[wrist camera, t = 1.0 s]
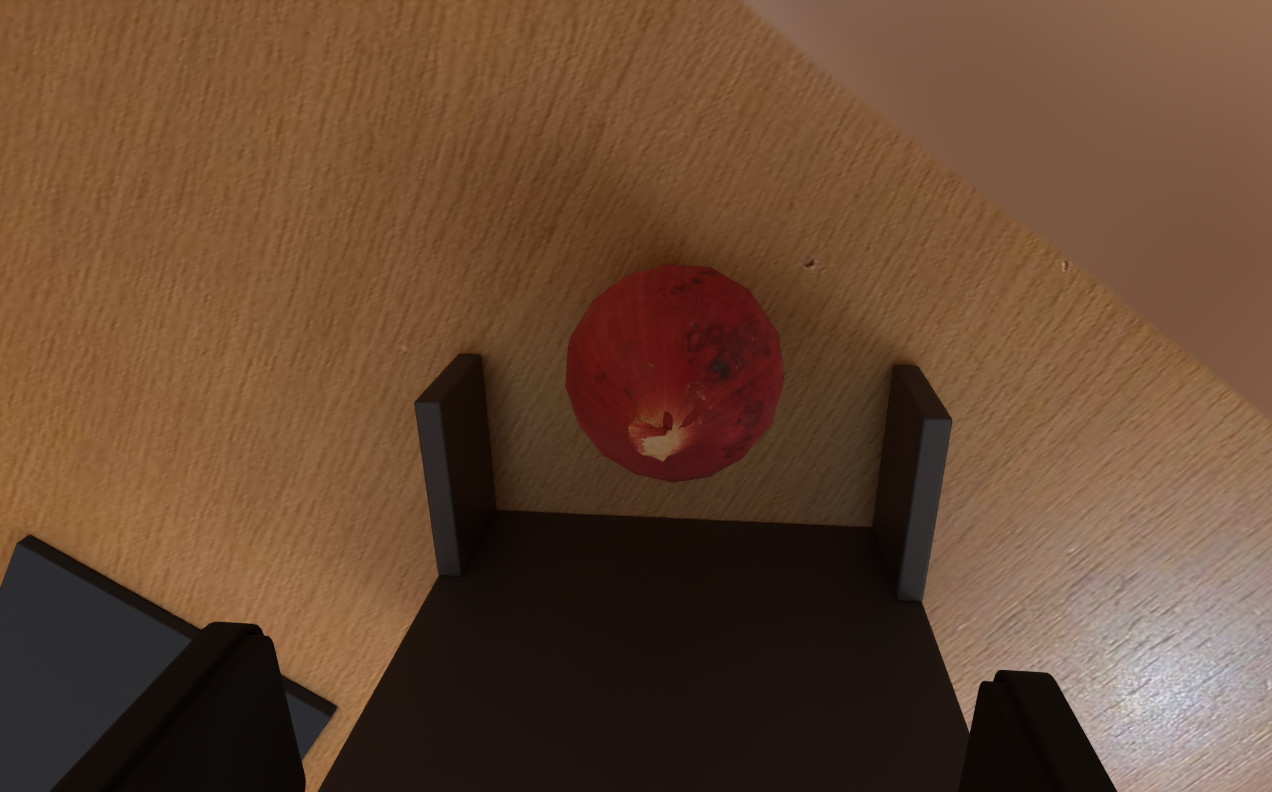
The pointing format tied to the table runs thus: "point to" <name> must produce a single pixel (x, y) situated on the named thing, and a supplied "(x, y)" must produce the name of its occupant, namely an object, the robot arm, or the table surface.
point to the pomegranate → (675, 372)
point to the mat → (85, 665)
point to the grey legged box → (665, 638)
